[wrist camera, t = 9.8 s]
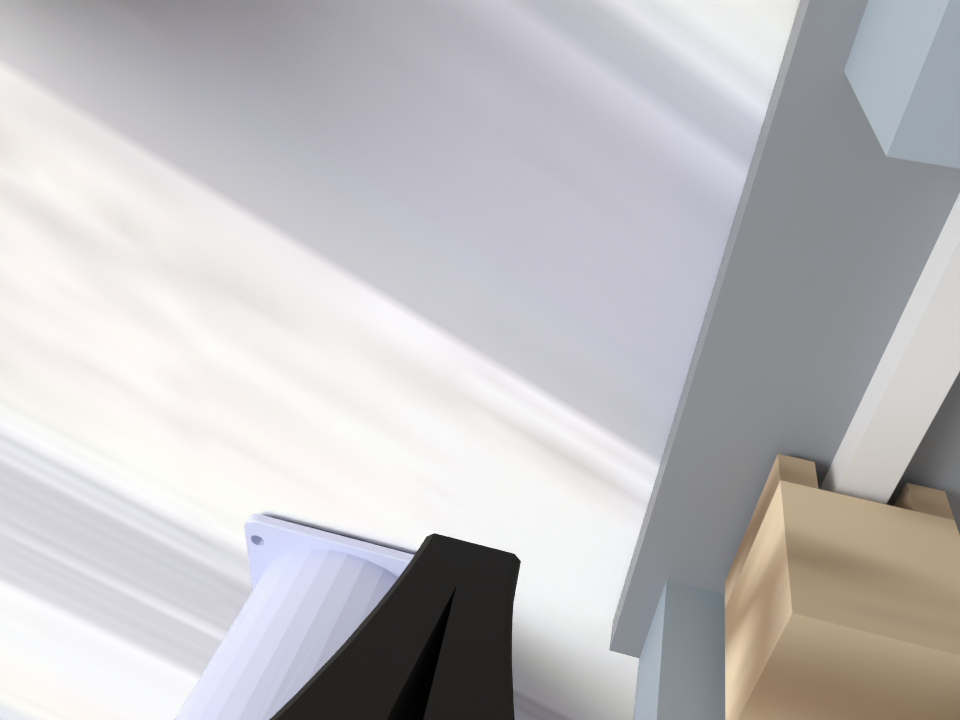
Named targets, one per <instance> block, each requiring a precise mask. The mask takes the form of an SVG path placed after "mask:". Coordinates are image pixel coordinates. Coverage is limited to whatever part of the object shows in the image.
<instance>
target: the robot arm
mask: <svg viewBox="0 0 960 720" xmlns="http://www.w3.org/2000/svg"><path fill="white" fill-rule="evenodd" d="M244 528H245V536H246V544H247V552H248V560H249V568H250V576H251V584H252V593H251V595H250V596H249V598H248V600H247V601H246V603H245V605H244V606H243V608H242V610H241V611H240V613H239V614H238V616H237V618H236V619H235V621H234V623H233V624H232V626H231V628H230V629H229V631H228V633H227V634H226V636H225V637H224V639H223V641H222V642H221V644H220V646H219V647H218V649H217V651H216V652H215V654H214V656H213V657H212V659H211V660H210V662H209V664H208V665H207V667H206V669H205V670H204V672H203V674H202V675H201V677H200V679H199V680H198V682H197V683H196V685H195V687H194V688H193V690H192V692H191V693H190V695H189V697H188V698H187V700H186V702H185V703H184V705H183V706H182V708H181V710H180V711H179V713H178V715H177V716H176V718H175V720H515V719H514V705H513V681H512V615H513V602H514V596H515V590H516V585H517V579H518V574H519V568H520V562H521V561H520V560H519V559H518V558H517V556H516V555H515V554H513V553H509V552H505V551H501V550H497V549H493V548H489V547H486V546H482V545H478V544H474V543H470V542H466V541H462V540H458V539H454V538H450V537H447V536H443V535H439V534H435V533H434V534H432V535H430V536H427V537H426V539H425V540H424V542H423V543H422V545H421V546H420V548H419V550H418V551H417V553H416V554H415V555H413V554H409V553H405V552H402V551H398V550H394V549H390V548H386V547H382V546H379V545H375V544H371V543H367V542H363V541H360V540H356V539H352V538H348V537H344V536H340V535H337V534H333V533H329V532H325V531H321V530H318V529H314V528H310V527H306V526H302V525H298V524H295V523H291V522H287V521H283V520H279V519H275V518H272V517H268V516H264V515H260V514H254V515H251V516H250V517H249V518H248V519H247V521H246V522H245V526H244Z"/></svg>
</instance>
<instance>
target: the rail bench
mask: <svg viewBox="0 0 960 720" xmlns="http://www.w3.org/2000/svg"><path fill="white" fill-rule="evenodd" d="M778 454H781V455H786V456H790V457H795V458H799V459H804V460H808V461H812V462H815V468H816V475H817V482H818V489H821V490H825V491H829V492H834V493H838V494H842V495H847V496H851V497H855V498H860V499H864V500H868V501H873V502H877V503H882V504H886V505H890V506H894V504H895V502H896V500H897V499H898V497H899V495H900V493H901V491H902V490H903V488H904V486H905V484H906V483H910V484H915V485H919V486H923V487H928V488H932V489H937V490H941V491H945V493H946V496H947V499H948V502H949V505H950V508H951V511H952V514H953V517H954V520H955V523H956V526H957V529H958V532H959V535H960V0H801V1H800V4H799V7H798V11H797V14H796V17H795V21H794V24H793V27H792V31H791V34H790V37H789V40H788V44H787V47H786V50H785V54H784V57H783V60H782V64H781V67H780V70H779V74H778V77H777V80H776V84H775V87H774V90H773V93H772V97H771V100H770V103H769V107H768V110H767V113H766V117H765V120H764V123H763V127H762V130H761V133H760V137H759V140H758V143H757V147H756V150H755V153H754V156H753V160H752V163H751V166H750V170H749V173H748V176H747V180H746V183H745V186H744V190H743V193H742V196H741V200H740V203H739V206H738V209H737V213H736V216H735V219H734V223H733V226H732V229H731V233H730V236H729V239H728V243H727V246H726V249H725V253H724V256H723V259H722V262H721V266H720V269H719V272H718V276H717V279H716V282H715V286H714V289H713V292H712V296H711V299H710V302H709V306H708V309H707V312H706V315H705V319H704V322H703V325H702V329H701V332H700V335H699V339H698V342H697V345H696V349H695V352H694V355H693V359H692V362H691V365H690V369H689V372H688V375H687V378H686V382H685V385H684V388H683V392H682V395H681V398H680V402H679V405H678V408H677V412H676V415H675V418H674V422H673V425H672V428H671V431H670V435H669V438H668V441H667V445H666V448H665V451H664V455H663V458H662V461H661V465H660V468H659V471H658V475H657V478H656V481H655V484H654V488H653V491H652V494H651V498H650V501H649V504H648V508H647V511H646V514H645V518H644V521H643V524H642V528H641V531H640V534H639V538H638V541H637V544H636V547H635V551H634V554H633V557H632V561H631V564H630V567H629V571H628V574H627V577H626V581H625V584H624V587H623V591H622V594H621V597H620V600H619V604H618V607H617V610H616V614H615V617H614V620H613V627H612V635H611V642H610V650H611V651H615V652H618V653H622V654H626V655H629V656H633V657H637V658H639V667H638V677H637V688H636V698H635V708H634V718H633V720H725V580H726V577H727V575H728V573H729V570H730V568H731V565H732V563H733V561H734V558H735V556H736V553H737V551H738V548H739V546H740V544H741V541H742V539H743V536H744V534H745V532H746V529H747V527H748V524H749V522H750V520H751V517H752V515H753V512H754V510H755V508H756V505H757V503H758V500H759V498H760V496H761V493H762V491H763V488H764V486H765V483H766V481H767V479H768V476H769V474H770V471H771V469H772V467H773V464H774V462H775V459H776V457H777V455H778Z"/></svg>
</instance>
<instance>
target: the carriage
mask: <svg viewBox="0 0 960 720" xmlns="http://www.w3.org/2000/svg"><path fill="white" fill-rule="evenodd" d="M725 720H960V535H959V532H958V529H957V526H956V523H955V520H954V517H953V514H952V511H951V508H950V505H949V502H948V499H947V496H946V493H945V491H941V490H937V489H932V488H928V487H923V486H919V485H915V484H910V483H906V484H905V486H904V488H903V490H902V491H901V493H900V495H899V497H898V499H897V500H896V502H895V504H894V506H890V505H886V504H882V503H877V502H873V501H868V500H864V499H860V498H855V497H851V496H847V495H842V494H838V493H834V492H829V491H825V490H821V489H818V482H817V475H816V468H815V462H812V461H808V460H804V459H799V458H795V457H790V456H786V455H781V454H778V455H777V457H776V459H775V462H774V464H773V467H772V469H771V471H770V474H769V476H768V479H767V481H766V483H765V486H764V488H763V491H762V493H761V496H760V498H759V500H758V503H757V505H756V508H755V510H754V512H753V515H752V517H751V520H750V522H749V524H748V527H747V529H746V532H745V534H744V536H743V539H742V541H741V544H740V546H739V548H738V551H737V553H736V556H735V558H734V561H733V563H732V565H731V568H730V570H729V573H728V575H727V577H726V580H725Z"/></svg>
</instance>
